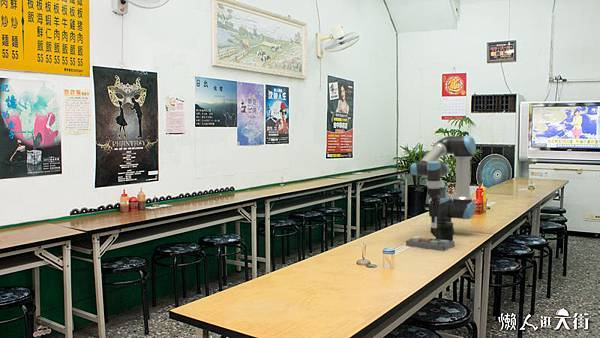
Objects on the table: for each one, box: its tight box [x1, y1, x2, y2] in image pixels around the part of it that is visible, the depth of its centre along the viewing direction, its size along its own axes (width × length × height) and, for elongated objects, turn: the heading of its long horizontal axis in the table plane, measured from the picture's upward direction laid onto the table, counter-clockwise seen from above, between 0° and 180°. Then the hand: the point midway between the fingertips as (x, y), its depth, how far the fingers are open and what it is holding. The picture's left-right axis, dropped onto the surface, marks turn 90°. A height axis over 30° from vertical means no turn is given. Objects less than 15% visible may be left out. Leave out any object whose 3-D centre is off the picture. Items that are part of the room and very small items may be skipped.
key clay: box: [420, 236, 432, 243], centre depth 309 cm, size 4×4×2 cm
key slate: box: [439, 240, 449, 245], centre depth 301 cm, size 4×4×2 cm
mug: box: [430, 221, 455, 241], centre depth 321 cm, size 11×15×12 cm
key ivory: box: [411, 235, 423, 241], centre depth 312 cm, size 4×4×2 cm
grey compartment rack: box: [405, 236, 455, 252], centre depth 307 cm, size 14×24×4 cm, turn 50°
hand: (434, 227), depth 305 cm, fingers closed
